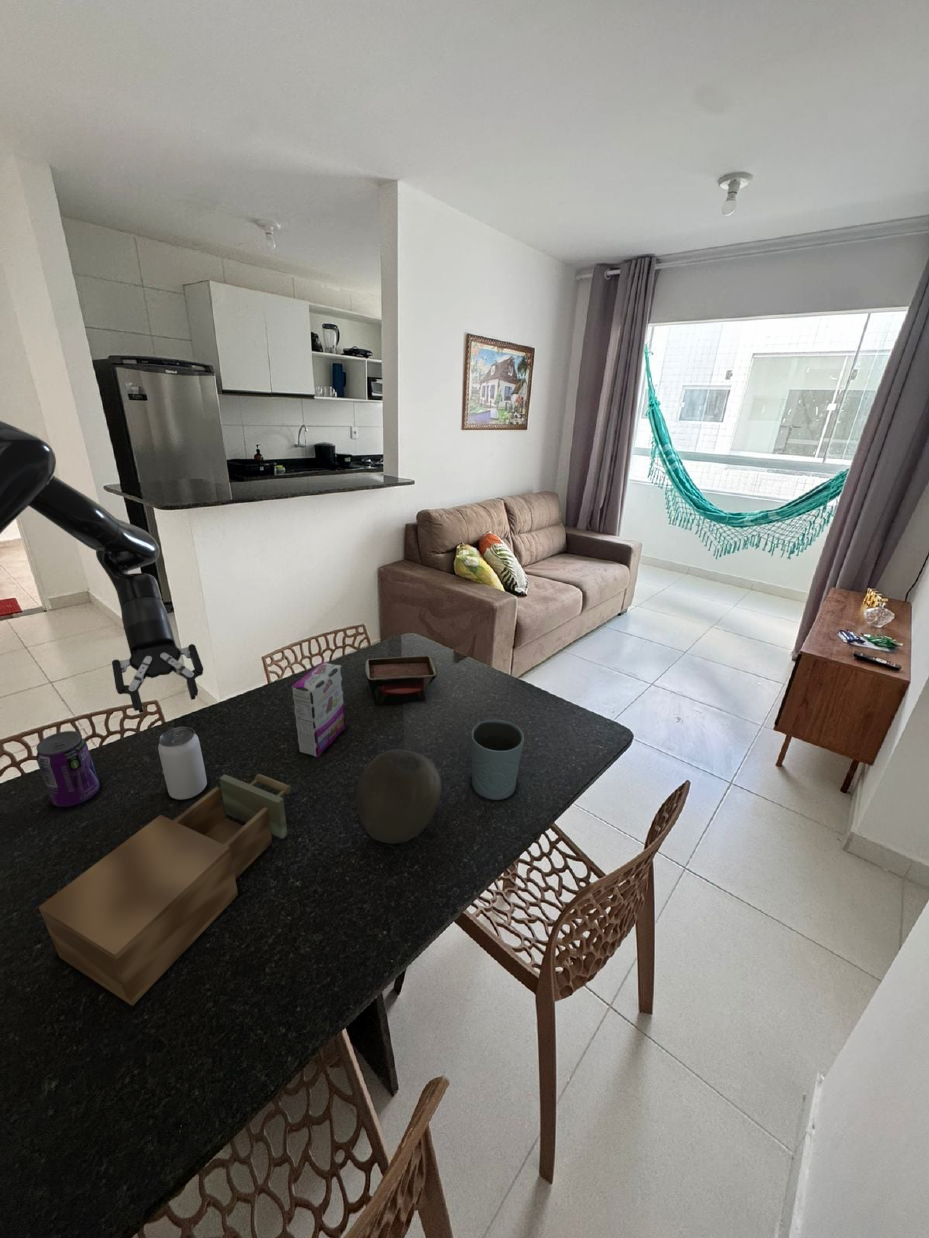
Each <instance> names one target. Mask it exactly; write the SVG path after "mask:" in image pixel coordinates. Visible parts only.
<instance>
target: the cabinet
mask: <svg viewBox="0 0 929 1238" xmlns="http://www.w3.org/2000/svg"><path fill="white" fill-rule="evenodd" d="M238 895H239V891H238V887H237V881H236V880H235V875H234V870H233V864H232V859H231V853H230V847H228V846H226V845H223V844H221V843H219V842H217V841H215V840H213V839H211V838H209V837H206V836H204V835H202V834H200V833H198V832H196V831H194V830H192V829H189V828H187V827H185V826H183V825H181V824H179V823H177V822H175V821H173V820H172V819H170V818H168V817H166V816H164V815H162V814H159V815H158V816H157V817H155V818H154V819H153V820H152V821H150V822H148V823H147V824H146V825H145V826H144V827H142V828H141V829H139V830H138V831H137V832H136V833H134V834H133V835H132V836H131V837H129V838H128V839H126V840H125V841H123V842H122V843H121V844H120V845H118V846H117V847H116V848H114V849H113V850H112V851H111V852H109V853H108V854H106V855H105V856H104V857H102V858H101V859H100V860H98V861H97V862H96V863H95V864H92V866H91V867H89V868H88V869H87V870H85V871H84V872H83V873H81V874H80V875H79V876H77V877H76V878H75V879H73V880H72V881H71V882H70V883H68V884H67V885H65V886H64V887H63V888H62V889H61V890H59V891H57V892H56V893H55V894H54V895H52V896H51V897H50V898H48V899H47V900H46V901H44V902H43V903H41V905H39V906H38V909H39V911H40V915H41V916H42V919H43V921H44V923H45V926H46V929H47V931H48V933H49V936H50V938H51V940H52V943H53V946H54V948H55V950H56V952H57V954H58V957H59V958H60V959H61V960H63V962H66V963H67V964H69V965H70V966H72V967H73V968H75V969H76V970H77V971H79V972H81V973H82V974H83V975H85V976H87V977H88V978H89V979H91V980H92V981H94V982H95V983H97V984H98V985H100V986H101V987H103V988H105V989H106V990H107V991H109V992H111V993H112V994H114V995H115V996H117V997H118V998H120V999H121V1000H122V1001H124V1002H126V1003H127V1004H129V1005H130V1006H131V1007H133V1006H134V1005H135V1004H136V1003H138V1001H139V1000H140V999H141V998H142V997H143V996H144V995H145V993H147V992H148V991H149V989H150V988H151V987H152V986H154V984H155V983H156V982H157V981H158V980H159V979H160V978H161V977H162V976H163V975H164V974H165V973H166V971H168V969H169V968H170V967H171V966H172V965H173V964H174V963H175V962H176V961H177V960H178V959H179V958H180V957H181V956H182V955H183V954H184V952H185V951H186V950H187V949H188V948H190V946H191V945H192V944H193V943H194V942H195V941H196V940H197V939H198V938H199V936H200V935H201V934H203V933H204V931H205V930H206V929H207V928H209V926H210V925H211V924H212V923H213V922H214V921H215V920H216V919H217V917H219V916H220V915H221V914H222V913H223V911H224V910H225V909H226V908H227V907H228V906H229V905H230V904H231V903H232V902H233V901H234V900H235V899H236V897H237V896H238Z"/></svg>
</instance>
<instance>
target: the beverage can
mask: <svg viewBox="0 0 929 1238" xmlns="http://www.w3.org/2000/svg"><path fill="white" fill-rule="evenodd" d="M36 751H37V752H36V754H35V759H36V762H37V766H38V768H39V771H40V774H41V776H42V779H43V782H44V785H45V788H46V790H47V793H48V796H49V799H50V802H51V803H52V805H54V806H56V807H61V808H64V807H73V806H76V805H79V804H81V803H83V802H86V801H88V800H89V799H90V798H92V797H93V796H94V795H96V794H97V792H98V791H99V789H100V782H99V778H98V775H97V772H96V769H95V766H94V762H93V760H92V759H93V758H92V756H91V752H90V749H89V746H88V743H87V741H86V739H84V738H83V737H82V735H81V733H79V732H78V731H75V730H64V731H59V732H55V733H54V734H51V735H49V736H47V737H45V738H43V739H41V741H39V742H38V743H37V745H36Z"/></svg>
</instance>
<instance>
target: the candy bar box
mask: <svg viewBox="0 0 929 1238" xmlns="http://www.w3.org/2000/svg"><path fill="white" fill-rule="evenodd" d="M342 673H343V672H342V665H341V664H335V663H332V662H327V661H321V662H320V663H318V664H317V665H316V666H315V667H314V668H312V669H311V670H310V671H309V672H307V673H306V674H305V675H304V676H303V677H302V678H300V679H299V680H297V681H296V682H295V683H294V684H293V685H292V686H291V693H292V699H293V700H292V702H293V708H294V709H293V710H294V716H295V725H296V726H295V727H296V733H297V742H298V752H299V753H301V754H306V755H309V756H312V757H315V758H319V757H320V756H321V755H322V754H323V753H324V752H325V751H326V750H327V749H328V748H329V746H330V745H331V744H333V742H334V741H335V740H336V739H337V738H338V736H340V735H341V734H342V732H344V730H346V728H347V727H346V713H345V701H344V700H345V699H344V685H343V674H342Z"/></svg>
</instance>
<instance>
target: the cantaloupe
mask: <svg viewBox="0 0 929 1238" xmlns="http://www.w3.org/2000/svg"><path fill="white" fill-rule="evenodd" d="M442 787H443V786H442V779H441V776H440V773H439V771H438V769H437V768H436V766H435V765H434V763H433V762H432V761H431V760H430V759H429V758H427V757H426V756H425V755H422V754H421V753H418V752H416V751H413V750H408V749H407V750H405V749H401V748H400V749H399V748H398V749H391V750H387V751H384V752H382V753H380V754H378V755H377V756H375V758H373V759H372V760H371V761H370V762H369V764H368V765H367V767H366V768H365V770H364V771H363V773H362V775H361V777H360V779H359V781H358V784H357V786H356V795H355V804H356V811H357V813H358V817H359V820H360V821H361V824H362V826H363V829H364V830H365V831H366V832H367V834H368V835H369V836H370V838H372V839H373V840H375V841H377V842H381V843H384V844H390V845H394V844H395V845H396V844H401V843H404V842H405V843H406V842H408V841H410V840H412V839H414V838H415V837H417V836H418V835H419V834H420V833H422V831H423V830H424V829H425V828H426V827H427V826H428V824H429V823H430V822H431V820H432V818H433V817H434V815H435V813H436V811H437V809H438V806H439V804H440V802H441V797H442V790H443V789H442Z"/></svg>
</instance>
